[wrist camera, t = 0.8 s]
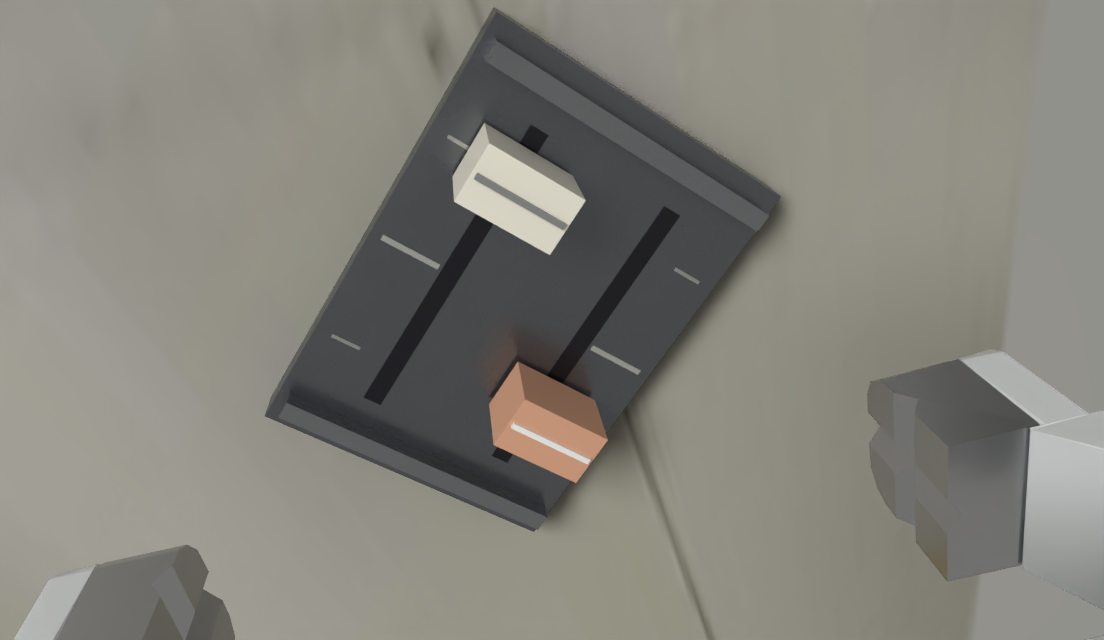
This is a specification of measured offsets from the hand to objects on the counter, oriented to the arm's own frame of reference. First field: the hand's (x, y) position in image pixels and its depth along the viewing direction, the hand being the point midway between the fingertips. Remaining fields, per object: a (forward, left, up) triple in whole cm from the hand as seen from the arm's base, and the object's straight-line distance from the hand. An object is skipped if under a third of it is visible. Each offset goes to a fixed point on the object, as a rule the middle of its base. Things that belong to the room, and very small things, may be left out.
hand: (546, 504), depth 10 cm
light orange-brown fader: (+13, +12, -32) cm, 37 cm away
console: (+9, +8, -35) cm, 37 cm away
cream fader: (+3, +4, -32) cm, 33 cm away
